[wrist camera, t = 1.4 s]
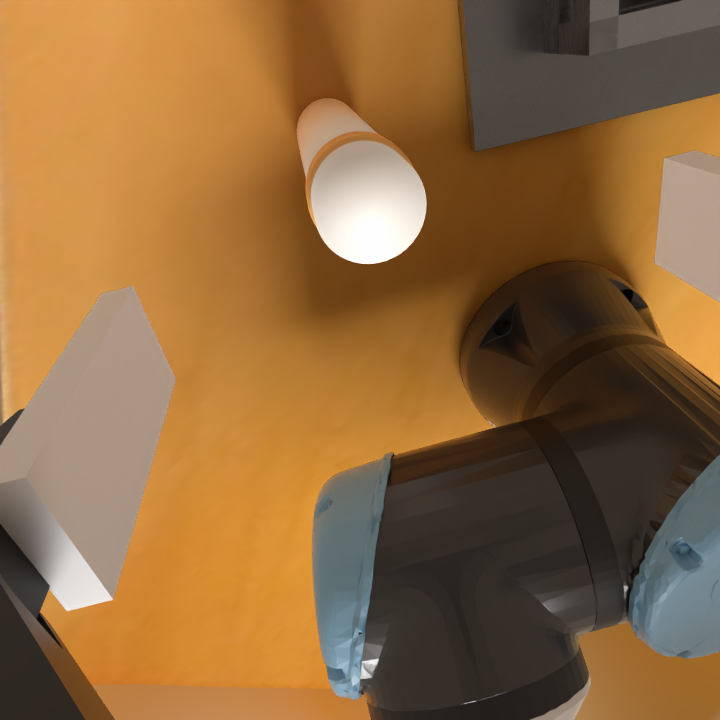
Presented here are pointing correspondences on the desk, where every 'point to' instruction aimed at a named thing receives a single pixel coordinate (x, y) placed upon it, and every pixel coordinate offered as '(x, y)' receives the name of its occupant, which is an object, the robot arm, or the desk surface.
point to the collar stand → (581, 62)
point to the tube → (358, 185)
